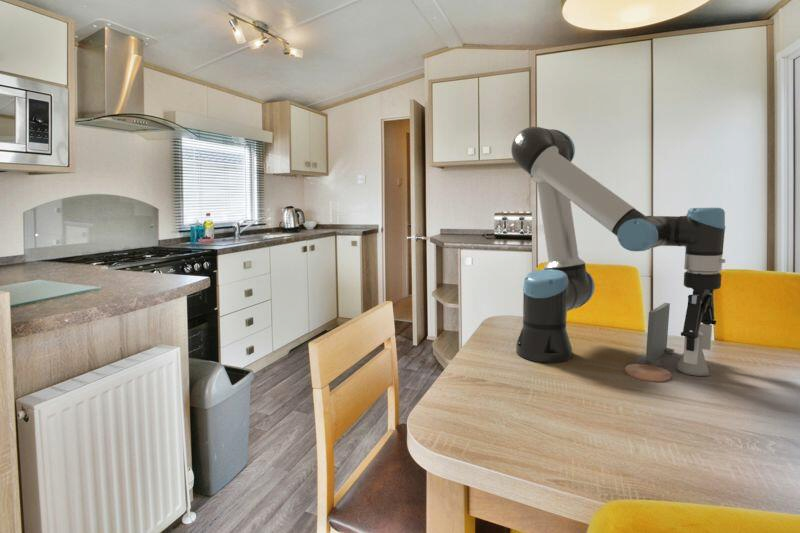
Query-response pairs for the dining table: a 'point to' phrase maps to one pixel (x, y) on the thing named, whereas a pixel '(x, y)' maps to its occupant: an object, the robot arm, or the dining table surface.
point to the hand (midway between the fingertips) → (697, 355)
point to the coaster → (648, 372)
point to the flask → (695, 369)
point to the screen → (657, 335)
